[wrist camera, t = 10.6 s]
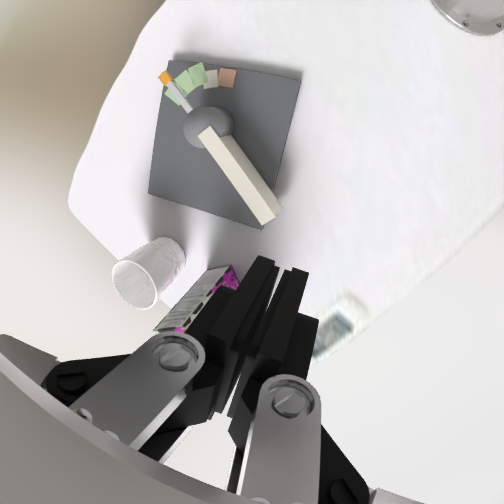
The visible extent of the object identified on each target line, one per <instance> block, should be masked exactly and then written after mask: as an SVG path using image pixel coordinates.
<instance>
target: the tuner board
mask: <svg viewBox="0 0 504 504" xmlns="http://www.w3.org/2000/svg"><path fill="white" fill-rule="evenodd" d="M167 71H168V72H169V74H170V75H171V76H172V77H173V79H174V83H175V84H176V85H177V87H178V88H179V89H180V91H181V92H182V93H183V95H184V96H185V97H186V98H187V100H188V101H189V102H190V104H191V105H192V106H193V108H194V109H195V108H197V107H220V108H223V109H225V110H227V111H228V112H229V113H230V115H231V116H232V118H233V121H234V130H233V133H232V135H231V136H232V137H233V138H234V140H235V141H236V143H237V144H238V145H239V147H240V148H241V149H242V151H243V152H244V154H245V155H246V156H247V158H248V159H249V160H250V162H251V163H252V165H253V166H254V167H255V169H256V170H257V172H258V173H259V174H260V176H261V177H262V179H263V180H264V182H265V183H266V184H267V186H268V187H269V189H270V190H271V192H272V193H273V190H274V186H275V182H276V178H277V174H278V170H279V166H280V163H281V159H282V155H283V151H284V147H285V143H286V139H287V135H288V131H289V127H290V124H291V120H292V116H293V112H294V108H295V104H296V100H297V96H298V92H299V88H300V84H301V81H298V80H294V79H290V78H285V77H281V76H276V75H271V74H266V73H261V72H256V71H251V70H245V69H239V68H233V67H226V66H219V65H211V64H203V62H200V63H194V62H183V61H171V60H169V62H168V67H167ZM187 114H188V113H187V112H186V111H185V109H184V108H183V107H182V105H181V104H180V103H179V101H178V100H177V99H176V97H175V96H174V95H173V93H172V92H171V91H170V89H169V88H168V87H167V86H164V87H163V92H162V97H161V103H160V109H159V115H158V121H157V127H156V134H155V141H154V148H153V155H152V163H151V171H150V180H149V190H148V194H151V195H154V196H158V197H161V198H164V199H167V200H170V201H174V202H177V203H180V204H183V205H186V206H189V207H193V208H196V209H199V210H202V211H205V212H208V213H211V214H215V215H218V216H221V217H224V218H227V219H230V220H233V221H236V222H239V223H242V224H245V225H248V226H251V227H254V228H257V229H260V230H262V229H263V227H264V225H261V224H260V222H259V221H258V219H257V218H256V216H255V215H254V214H253V212H252V211H251V209H250V208H249V207H248V205H247V204H246V202H245V201H244V200H243V198H242V197H241V195H240V194H239V193H238V191H237V190H236V188H235V187H234V186H233V184H232V183H231V181H230V180H229V179H228V177H227V176H226V174H225V173H224V172H223V170H222V169H221V167H220V166H219V165H218V163H217V162H216V161H215V159H214V158H213V156H212V155H211V154H210V152H209V151H208V150H207V148H197V147H195V146H193V145H191V144H190V143H189V142H188V141H187V139H186V138H185V135H184V132H183V124H184V120H185V118H186V116H187Z"/></svg>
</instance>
